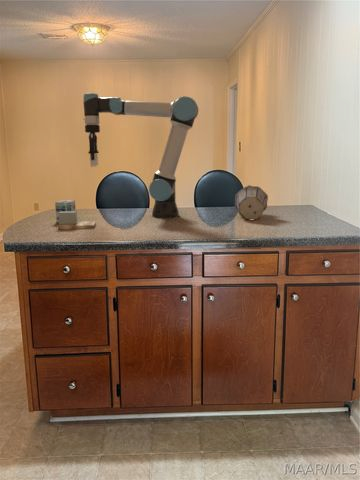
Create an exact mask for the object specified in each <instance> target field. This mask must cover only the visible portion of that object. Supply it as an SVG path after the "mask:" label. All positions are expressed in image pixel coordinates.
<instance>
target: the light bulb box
mask: <svg viewBox="0 0 360 480" xmlns="http://www.w3.org/2000/svg"><path fill="white" fill-rule="evenodd" d="M54 204H55V205H54V206H55V207H54V208H55V218H56V219H55V220H56V223H59V212H60V211H77V209H76V200H74V199H63V200H58V201H55V202H54Z"/></svg>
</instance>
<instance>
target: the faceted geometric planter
mask: <svg viewBox="0 0 360 480" xmlns="http://www.w3.org/2000/svg"><path fill="white" fill-rule="evenodd" d="M268 199H269V195H268V194H267V192H266V191H264V190H263V189H262V188H261V187H260V186H258V185H257V186H255V185H247V186H244V187H243V188H242V189H240V190H239V191H238V192H237V193H236V194H235V196H234V208H235V209H236V210H237V211H238V214H239V216H240V217H241V218H242V219H244V220H245V219H256V220H257V219H258V218H260V217H261V216H262V215H263V214H264V212H265V211H266V210H267V208H268Z"/></svg>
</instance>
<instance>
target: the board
mask: <svg viewBox="0 0 360 480" xmlns="http://www.w3.org/2000/svg"><path fill="white" fill-rule="evenodd" d="M96 225H97V221H96V220H95V221H94V220H93V221H92V220H91V221H77V224H76V225H59V224H58V225H57V229H58V230H78V229H79V230H80V229H82V230H84V229H85V228H86V229H95V227H96Z"/></svg>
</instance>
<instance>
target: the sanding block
mask: <svg viewBox="0 0 360 480" xmlns="http://www.w3.org/2000/svg"><path fill="white" fill-rule="evenodd" d="M77 222H78V211H77V210H76V211H60V212H59V222H58V226H59V225H76V224H77Z"/></svg>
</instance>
